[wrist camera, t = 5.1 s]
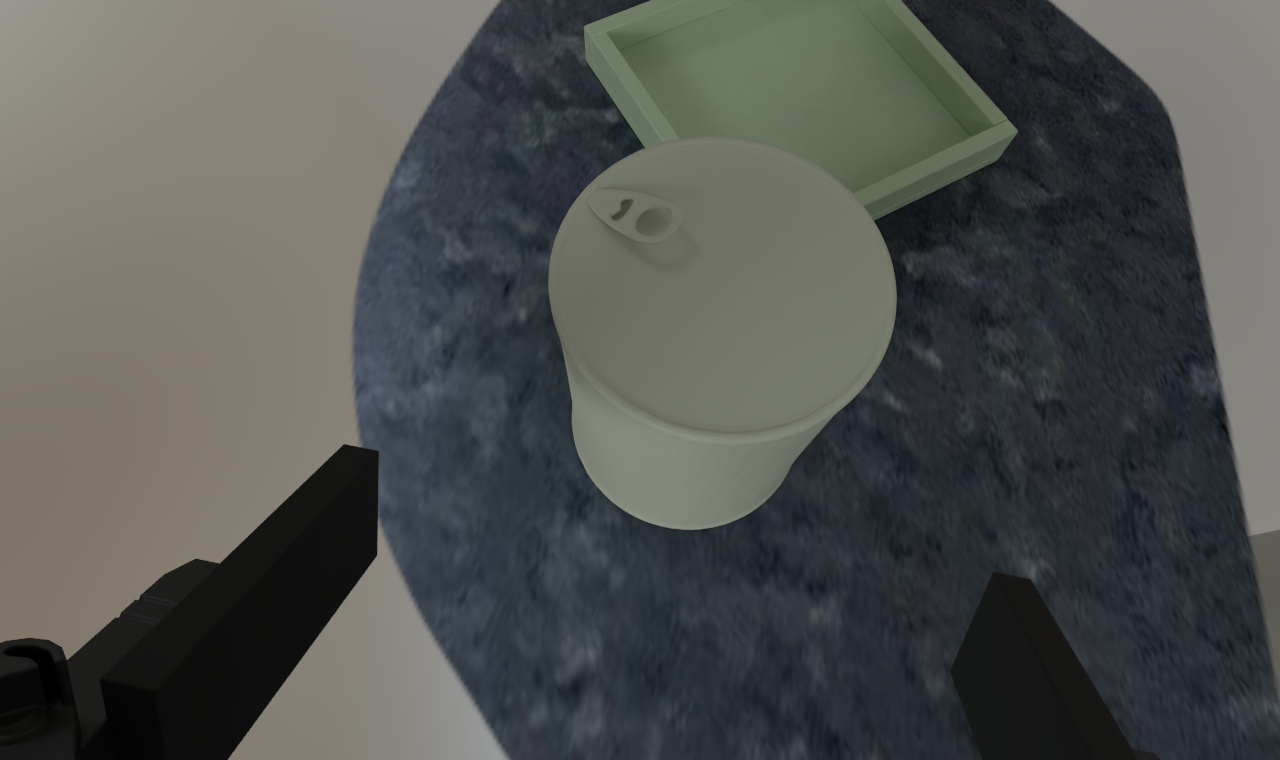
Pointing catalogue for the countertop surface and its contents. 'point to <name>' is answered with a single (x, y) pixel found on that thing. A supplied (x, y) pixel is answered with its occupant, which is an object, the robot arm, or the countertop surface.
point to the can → (713, 322)
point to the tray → (804, 88)
